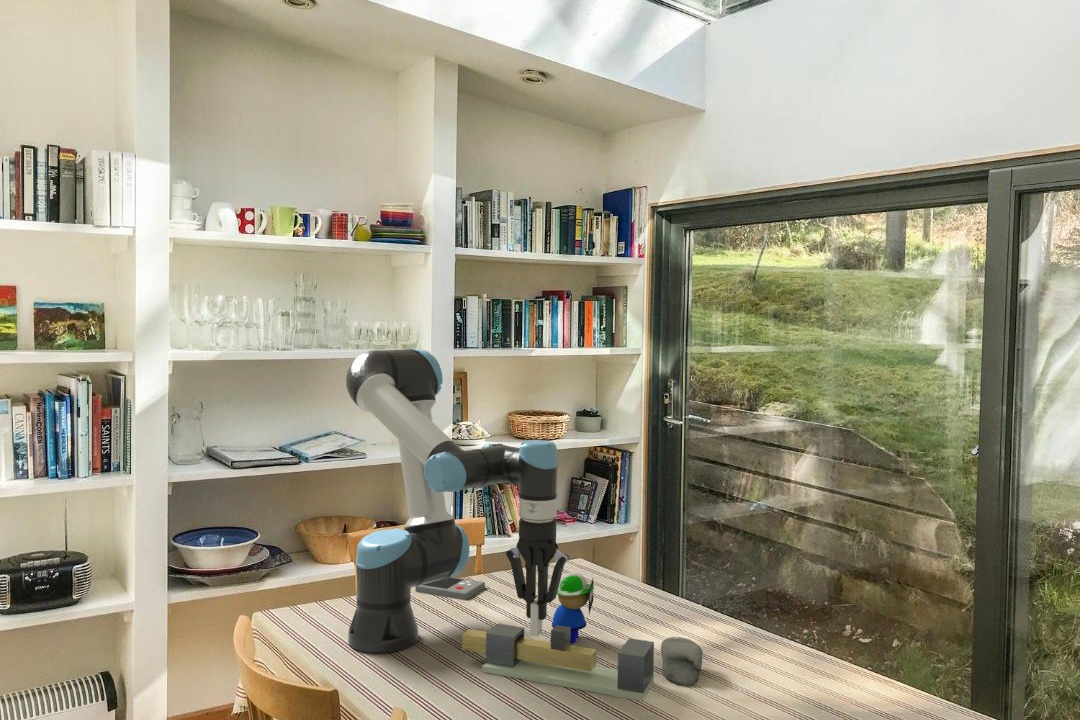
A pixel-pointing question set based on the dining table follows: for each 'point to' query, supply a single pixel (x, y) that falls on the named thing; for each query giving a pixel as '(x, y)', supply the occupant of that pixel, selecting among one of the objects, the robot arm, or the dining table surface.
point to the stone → (681, 661)
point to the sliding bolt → (540, 649)
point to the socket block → (635, 665)
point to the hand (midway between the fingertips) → (536, 634)
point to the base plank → (568, 677)
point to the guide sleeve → (502, 645)
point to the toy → (573, 603)
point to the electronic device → (452, 588)
